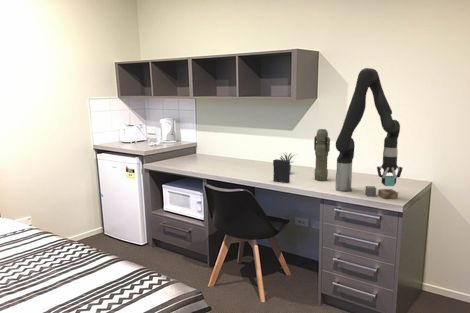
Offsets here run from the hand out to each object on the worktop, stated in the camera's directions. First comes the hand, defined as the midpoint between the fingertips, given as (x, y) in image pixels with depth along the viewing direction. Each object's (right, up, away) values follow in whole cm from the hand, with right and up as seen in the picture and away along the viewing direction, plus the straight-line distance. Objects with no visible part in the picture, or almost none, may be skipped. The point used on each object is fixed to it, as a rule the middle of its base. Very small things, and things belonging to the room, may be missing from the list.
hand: (388, 184), depth 221 cm
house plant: (-48, +3, +69) cm, 84 cm away
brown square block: (0, -8, +1) cm, 8 cm away
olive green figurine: (-28, 0, +47) cm, 55 cm away
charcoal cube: (-9, -7, +6) cm, 12 cm away
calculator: (-57, -2, +42) cm, 70 cm away
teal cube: (0, -1, 0) cm, 0 cm away
